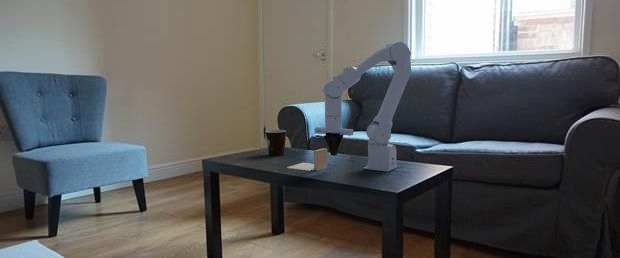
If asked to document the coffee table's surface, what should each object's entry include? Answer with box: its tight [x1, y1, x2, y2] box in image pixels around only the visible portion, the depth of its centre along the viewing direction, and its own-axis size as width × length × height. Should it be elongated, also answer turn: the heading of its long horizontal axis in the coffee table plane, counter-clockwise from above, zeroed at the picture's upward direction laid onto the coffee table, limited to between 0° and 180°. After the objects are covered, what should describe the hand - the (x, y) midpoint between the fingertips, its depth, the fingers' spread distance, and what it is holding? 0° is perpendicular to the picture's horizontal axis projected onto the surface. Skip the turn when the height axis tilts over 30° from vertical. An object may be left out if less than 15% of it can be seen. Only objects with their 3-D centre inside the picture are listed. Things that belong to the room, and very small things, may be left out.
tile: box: [313, 148, 329, 172], centre depth 160 cm, size 2×6×7 cm, turn 145°
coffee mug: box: [265, 129, 287, 157], centre depth 188 cm, size 12×9×10 cm
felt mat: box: [286, 162, 314, 172], centre depth 164 cm, size 10×10×1 cm
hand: (333, 155), depth 157 cm, fingers closed
